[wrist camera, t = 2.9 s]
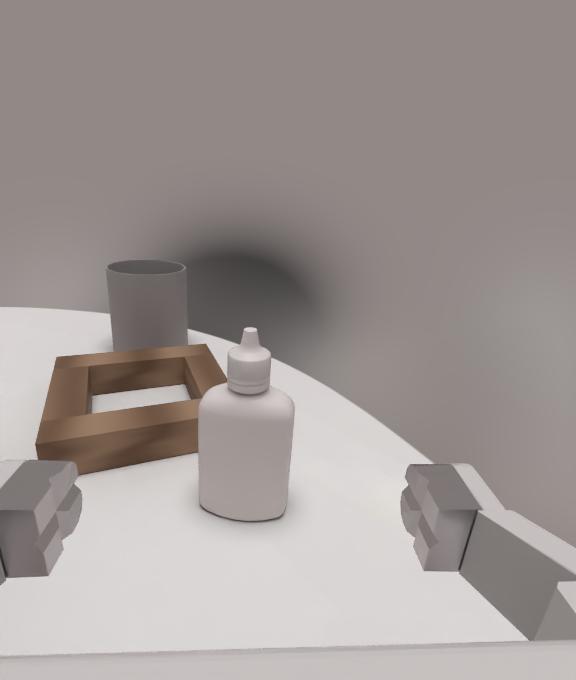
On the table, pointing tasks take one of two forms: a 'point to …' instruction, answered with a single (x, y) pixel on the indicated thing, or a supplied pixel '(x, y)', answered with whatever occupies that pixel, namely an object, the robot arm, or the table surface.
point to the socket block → (128, 424)
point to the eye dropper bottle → (245, 438)
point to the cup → (147, 304)
